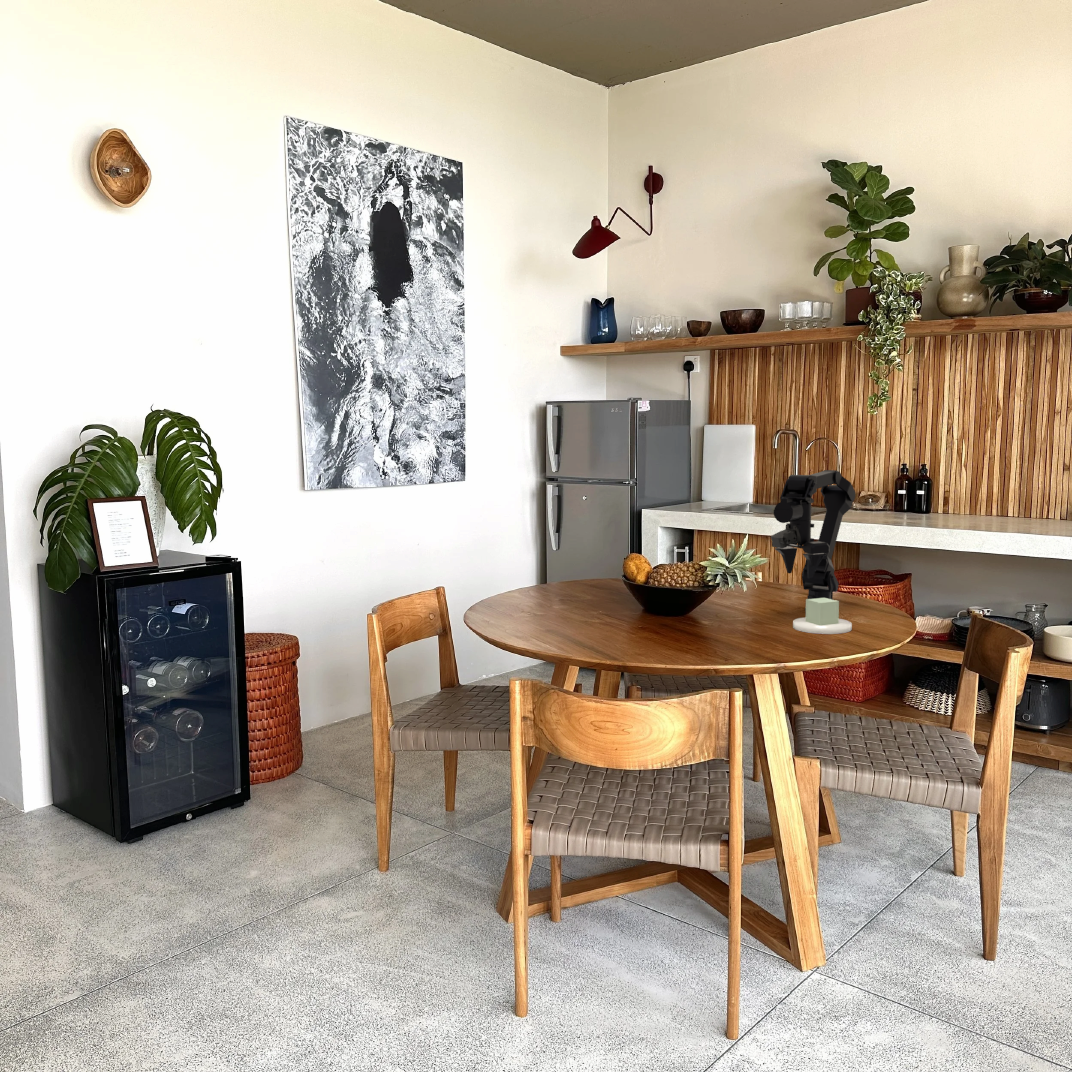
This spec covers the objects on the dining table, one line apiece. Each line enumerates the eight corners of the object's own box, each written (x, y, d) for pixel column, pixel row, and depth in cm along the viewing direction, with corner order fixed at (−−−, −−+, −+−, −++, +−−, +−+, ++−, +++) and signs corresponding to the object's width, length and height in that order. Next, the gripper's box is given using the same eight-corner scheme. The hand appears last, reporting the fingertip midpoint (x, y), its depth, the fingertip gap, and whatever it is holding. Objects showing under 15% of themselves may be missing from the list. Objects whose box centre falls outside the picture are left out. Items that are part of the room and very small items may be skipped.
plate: (826, 620, 269) (827, 615, 269) (863, 630, 255) (864, 625, 255) (781, 625, 263) (781, 619, 263) (816, 636, 249) (816, 630, 249)
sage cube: (823, 619, 263) (824, 597, 262) (838, 623, 257) (838, 601, 257) (805, 621, 261) (805, 599, 260) (819, 625, 255) (820, 603, 254)
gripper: (756, 518, 276) (755, 573, 277) (797, 524, 258) (796, 582, 260) (789, 516, 280) (788, 570, 281) (831, 522, 262) (830, 579, 264)
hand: (799, 575), depth 272 cm, fingers open, 9 cm apart
